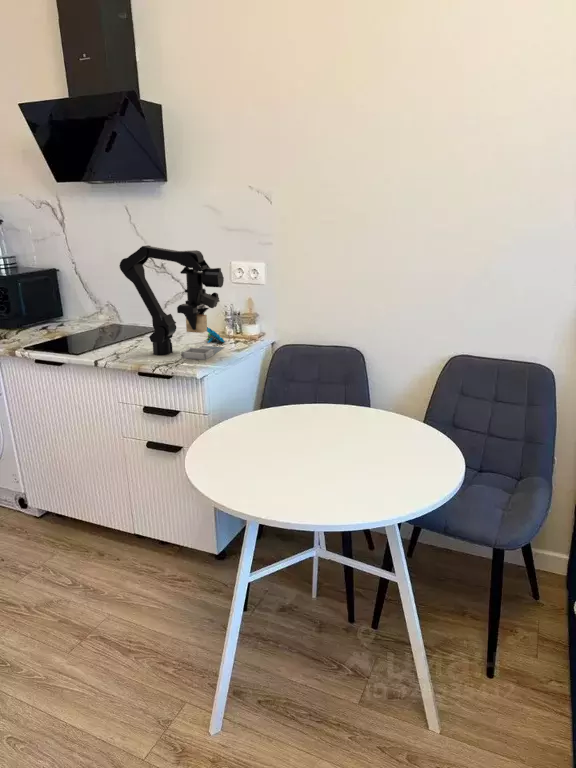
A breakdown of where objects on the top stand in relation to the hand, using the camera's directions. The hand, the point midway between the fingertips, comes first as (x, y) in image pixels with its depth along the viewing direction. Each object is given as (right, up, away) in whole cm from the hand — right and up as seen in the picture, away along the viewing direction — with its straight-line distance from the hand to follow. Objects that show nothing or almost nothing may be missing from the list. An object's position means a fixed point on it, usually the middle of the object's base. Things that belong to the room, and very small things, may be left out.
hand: (196, 328), depth 204 cm
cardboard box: (0, -1, 0) cm, 1 cm away
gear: (+3, -4, +26) cm, 27 cm away
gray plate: (+1, -9, +8) cm, 13 cm away
